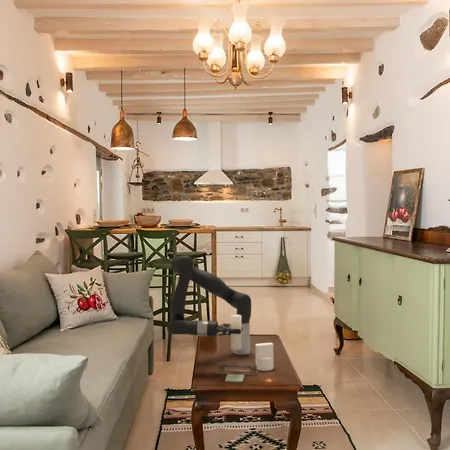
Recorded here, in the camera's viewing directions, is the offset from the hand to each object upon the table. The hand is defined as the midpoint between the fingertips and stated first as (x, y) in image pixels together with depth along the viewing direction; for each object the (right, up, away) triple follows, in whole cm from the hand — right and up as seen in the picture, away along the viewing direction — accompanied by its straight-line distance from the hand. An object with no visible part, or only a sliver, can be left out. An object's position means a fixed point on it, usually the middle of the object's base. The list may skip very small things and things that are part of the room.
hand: (241, 330), depth 225 cm
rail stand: (-2, -21, 0) cm, 21 cm away
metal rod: (-2, -18, 0) cm, 18 cm away
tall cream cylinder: (-3, -9, +1) cm, 9 cm away
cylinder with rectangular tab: (+12, -21, +7) cm, 25 cm away
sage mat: (-3, -21, -8) cm, 23 cm away
